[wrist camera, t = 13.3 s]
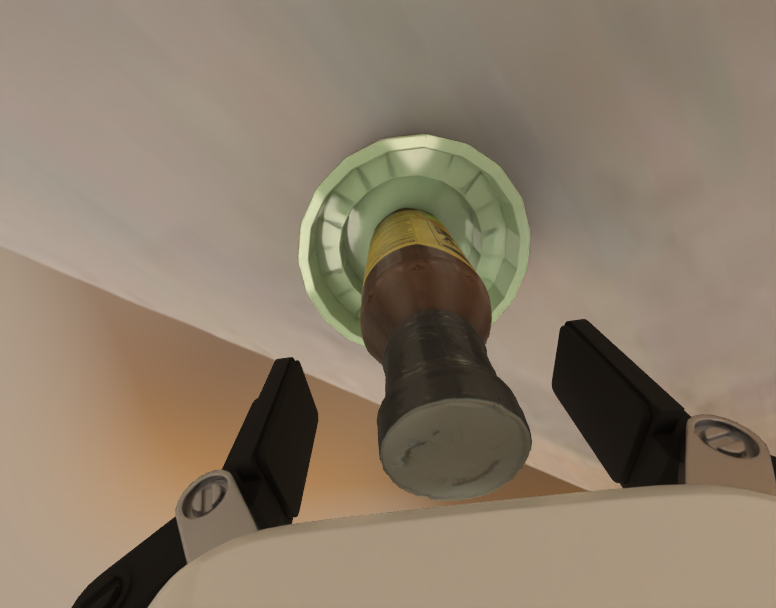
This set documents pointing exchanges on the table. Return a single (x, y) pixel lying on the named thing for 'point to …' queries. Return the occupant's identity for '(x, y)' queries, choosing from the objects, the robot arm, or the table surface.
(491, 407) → the sauce bottle
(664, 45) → the table surface
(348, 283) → the bowl
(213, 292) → the table surface
